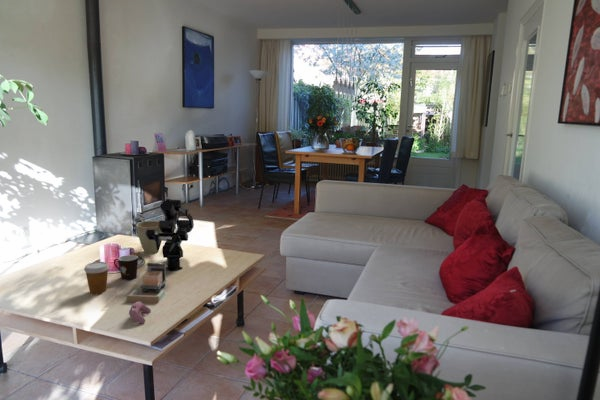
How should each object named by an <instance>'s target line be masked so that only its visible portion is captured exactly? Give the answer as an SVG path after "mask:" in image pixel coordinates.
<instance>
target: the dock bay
mask: <svg viewBox="0 0 600 400" xmlns="http://www.w3.org/2000/svg"><path fill="white" fill-rule="evenodd" d="M165 295H166V291H165V290H164V289H163V290H160V292H159V293H157V295H148V294H147V295H145V294H138V289H135V288H134V289H133V290H132V291H130V293H129V294H126V303H136V302H139V301H140V302H142V303H143V304H145V303H146V304H152V303H153V304H159V303H160V301H161V300H162V299H163V298H164V297H165Z"/></svg>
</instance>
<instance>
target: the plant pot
mask: <svg viewBox="0 0 600 400" xmlns="http://www.w3.org/2000/svg"><path fill="white" fill-rule="evenodd" d="M159 221H160V220H159ZM159 221H158V220H149V221H148V220H147V221H141V222H140V221H139V222H138V223H136V224H135V225H136V226H135V227H136V230H137V237H138V239H139V242H140V243H139V244H141V247H142V250H143V251H144V254H148V255H150V254H151V255H153V254H157V253H159V251H157V247H156V241H155V240H149V239H148V237H147V236H146V231H147V230H148V229H155V230H156V232H162V231H160V228H159ZM163 238H164V237H160V239H161V244H162V242H163ZM161 244H160V246H161Z"/></svg>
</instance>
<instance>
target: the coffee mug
mask: <svg viewBox="0 0 600 400" xmlns="http://www.w3.org/2000/svg"><path fill="white" fill-rule="evenodd" d="M116 261H118V264H117V263H116ZM138 263H139V256H138V255H135V254H125V255H122V256H119V257H118V258H115V259H114V260H113V265H114V266H115V267H116V269H118V270H119V273H120V279H121V280H123V281H131V280H135V279H136V278H137V274H138Z"/></svg>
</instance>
